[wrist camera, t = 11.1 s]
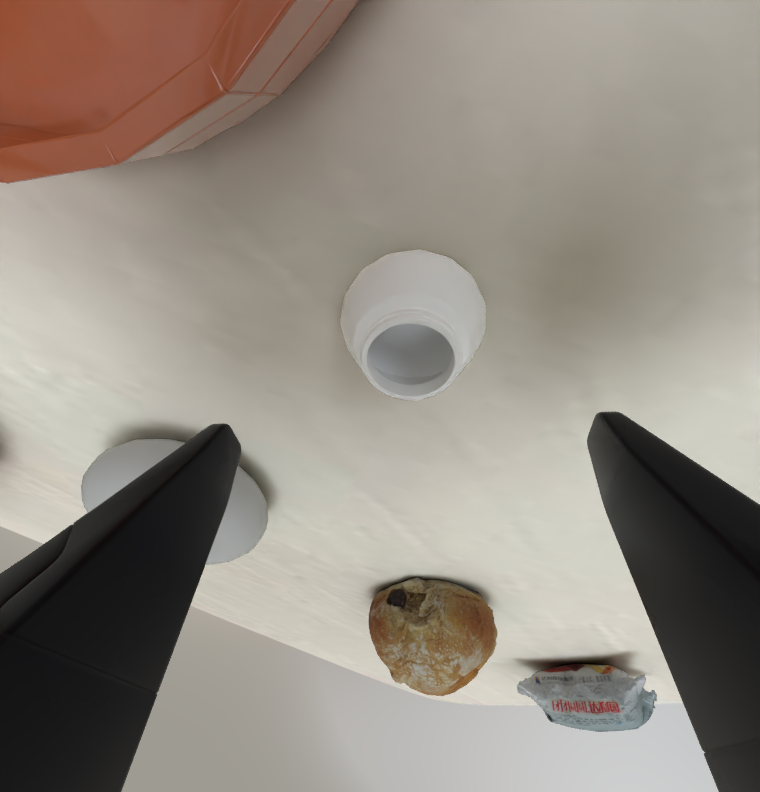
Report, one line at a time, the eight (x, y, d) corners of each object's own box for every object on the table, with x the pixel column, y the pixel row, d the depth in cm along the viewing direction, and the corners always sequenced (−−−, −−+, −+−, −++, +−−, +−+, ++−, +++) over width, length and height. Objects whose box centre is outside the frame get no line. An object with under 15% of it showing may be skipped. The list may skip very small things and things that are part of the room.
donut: (131, 392, 17) (95, 482, 22) (78, 445, 14) (51, 532, 20) (305, 481, 20) (238, 540, 26) (289, 536, 18) (217, 590, 23)
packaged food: (512, 658, 38) (522, 719, 34) (635, 651, 33) (663, 722, 29) (537, 678, 42) (549, 734, 39) (649, 674, 38) (675, 738, 34)
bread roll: (459, 530, 29) (438, 614, 22) (524, 627, 30) (523, 738, 23) (371, 558, 34) (330, 634, 27) (429, 641, 34) (404, 736, 27)
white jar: (453, 384, 15) (507, 268, 11) (458, 435, 12) (528, 310, 9) (336, 355, 14) (358, 228, 11) (319, 403, 12) (341, 261, 9)
